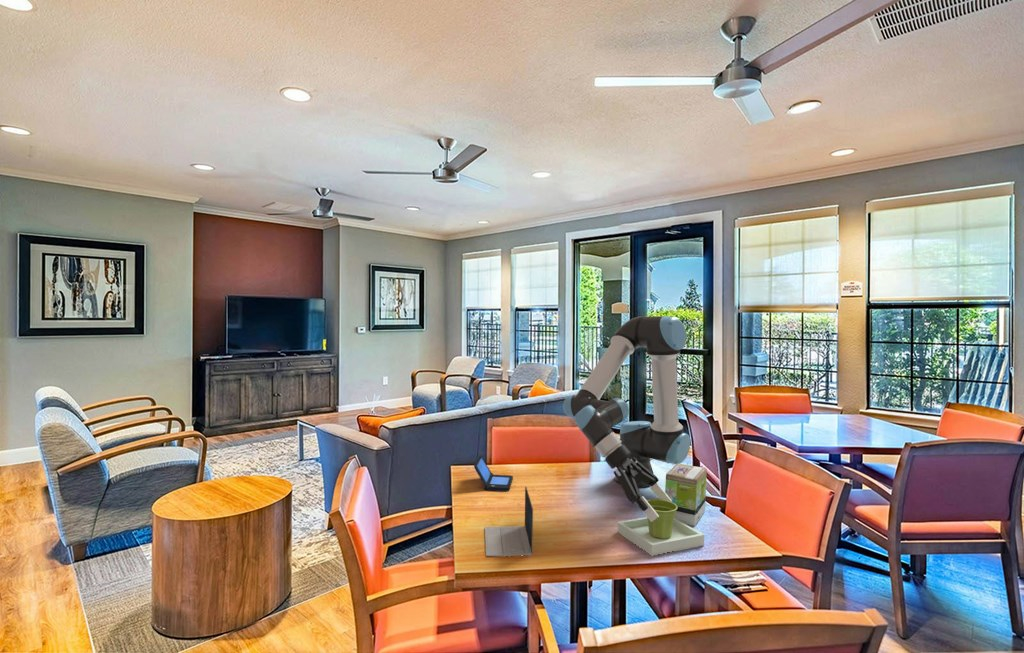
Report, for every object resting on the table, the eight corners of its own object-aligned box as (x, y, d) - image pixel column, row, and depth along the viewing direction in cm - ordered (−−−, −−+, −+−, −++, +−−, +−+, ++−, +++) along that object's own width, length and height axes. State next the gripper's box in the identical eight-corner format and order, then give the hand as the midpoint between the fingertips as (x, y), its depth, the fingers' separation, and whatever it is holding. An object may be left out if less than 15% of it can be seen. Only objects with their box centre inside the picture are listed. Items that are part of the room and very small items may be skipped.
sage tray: (666, 523, 155) (666, 513, 155) (704, 545, 140) (704, 534, 140) (617, 531, 148) (617, 521, 148) (651, 556, 133) (652, 545, 133)
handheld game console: (509, 492, 181) (509, 467, 181) (473, 490, 182) (473, 465, 182) (513, 478, 197) (513, 455, 196) (479, 477, 198) (479, 453, 198)
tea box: (696, 527, 152) (697, 479, 152) (663, 519, 158) (664, 473, 157) (706, 511, 165) (707, 466, 165) (675, 504, 170) (676, 461, 170)
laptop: (484, 529, 149) (485, 486, 149) (526, 528, 150) (526, 485, 150) (485, 558, 132) (486, 509, 131) (533, 557, 132) (533, 508, 132)
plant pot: (653, 543, 139) (653, 512, 139) (637, 529, 148) (638, 500, 148) (683, 540, 141) (683, 510, 141) (666, 526, 150) (666, 498, 150)
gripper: (619, 449, 163) (664, 504, 155) (588, 468, 142) (639, 533, 134) (635, 435, 160) (682, 491, 152) (606, 453, 139) (659, 518, 131)
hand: (662, 511), depth 143 cm, fingers open, 13 cm apart
